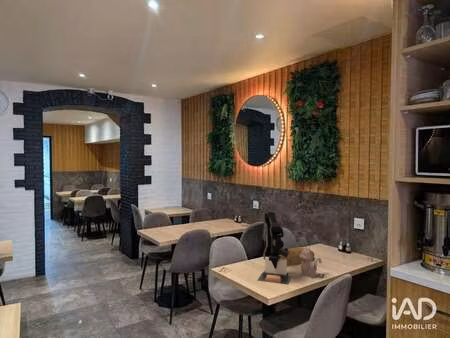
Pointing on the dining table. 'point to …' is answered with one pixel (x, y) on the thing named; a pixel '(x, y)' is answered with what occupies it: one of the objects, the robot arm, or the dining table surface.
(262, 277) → the rack
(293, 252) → the bread
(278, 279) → the offcut upper
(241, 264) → the dining table surface
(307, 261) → the toy
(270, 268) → the beige rectangular panel
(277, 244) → the robot arm
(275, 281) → the offcut lower
